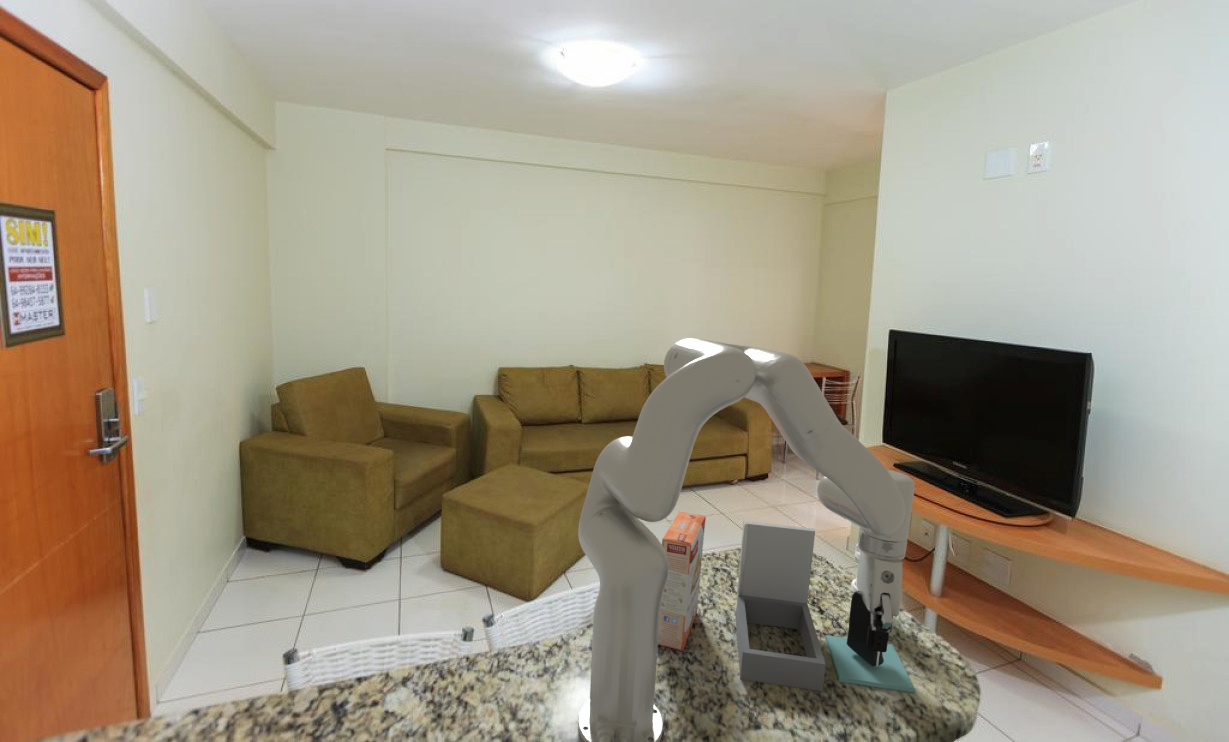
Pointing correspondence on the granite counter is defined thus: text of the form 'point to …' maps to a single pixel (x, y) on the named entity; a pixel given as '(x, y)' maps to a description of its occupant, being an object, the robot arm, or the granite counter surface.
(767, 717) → the granite counter surface
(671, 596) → the cracker box
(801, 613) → the case
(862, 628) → the battery charger
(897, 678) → the mat
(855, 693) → the granite counter surface
